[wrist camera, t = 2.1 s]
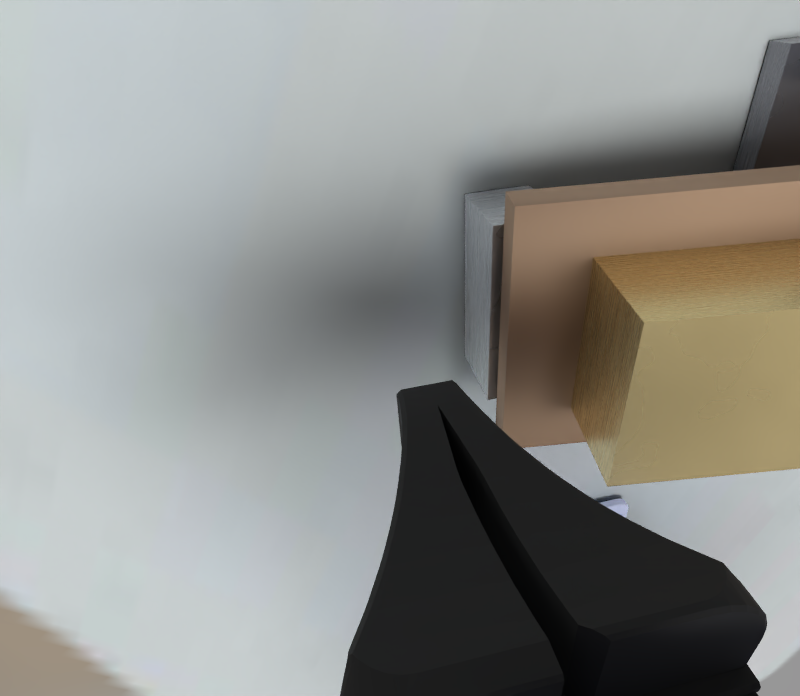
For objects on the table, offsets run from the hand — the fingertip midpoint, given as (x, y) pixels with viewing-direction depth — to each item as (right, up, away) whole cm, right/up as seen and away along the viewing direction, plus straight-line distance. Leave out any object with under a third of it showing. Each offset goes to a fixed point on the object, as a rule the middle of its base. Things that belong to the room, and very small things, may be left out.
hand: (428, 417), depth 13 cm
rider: (+7, +2, +2) cm, 8 cm away
